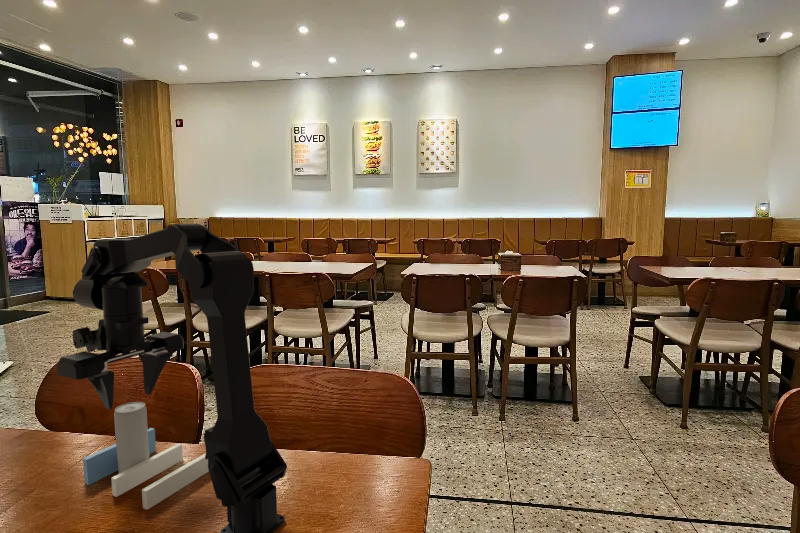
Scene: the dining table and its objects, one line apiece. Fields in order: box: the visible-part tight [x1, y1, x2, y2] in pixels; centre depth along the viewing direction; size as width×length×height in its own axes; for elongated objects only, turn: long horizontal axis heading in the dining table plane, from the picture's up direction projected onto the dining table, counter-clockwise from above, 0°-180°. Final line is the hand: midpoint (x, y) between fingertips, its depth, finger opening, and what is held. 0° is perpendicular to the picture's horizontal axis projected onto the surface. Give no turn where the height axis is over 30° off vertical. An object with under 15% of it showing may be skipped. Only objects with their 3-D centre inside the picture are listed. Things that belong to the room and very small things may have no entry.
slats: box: [82, 427, 209, 510], centre depth 77 cm, size 16×12×4 cm
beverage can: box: [113, 401, 150, 474], centre depth 78 cm, size 5×5×12 cm
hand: (129, 401), depth 77 cm, fingers open, 7 cm apart
